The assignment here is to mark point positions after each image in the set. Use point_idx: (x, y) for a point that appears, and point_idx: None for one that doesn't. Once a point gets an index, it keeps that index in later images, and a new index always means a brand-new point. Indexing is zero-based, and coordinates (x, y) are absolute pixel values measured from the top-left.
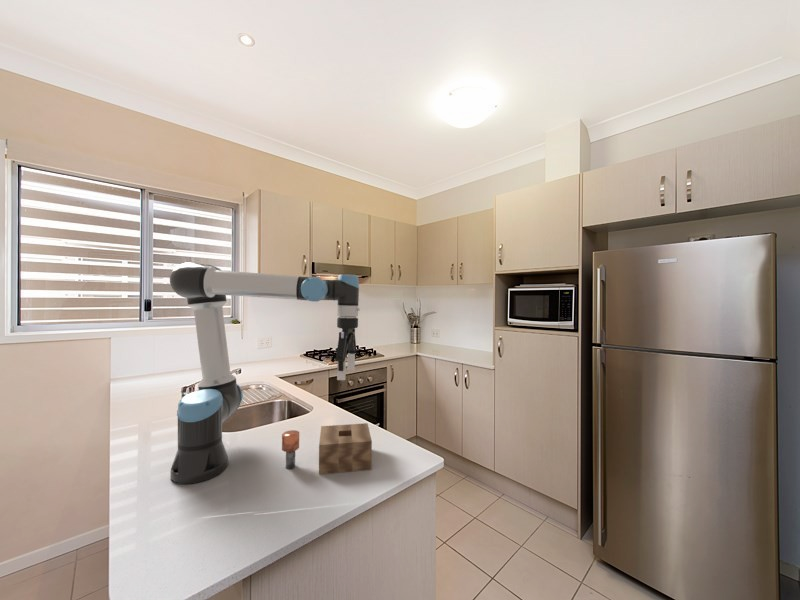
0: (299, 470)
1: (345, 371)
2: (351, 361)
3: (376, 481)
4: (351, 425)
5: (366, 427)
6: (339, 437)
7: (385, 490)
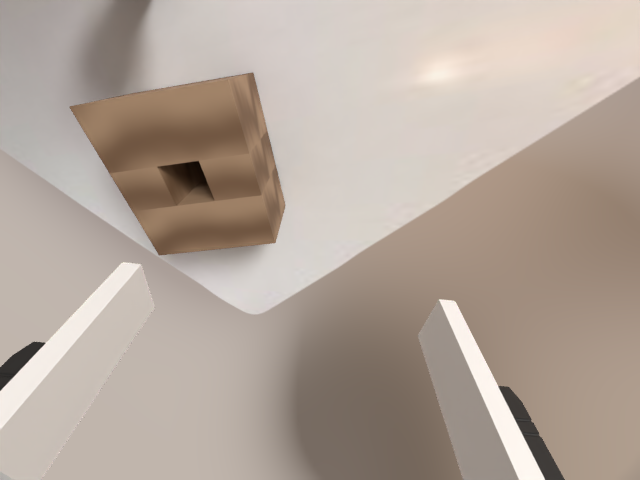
0: (135, 18)
1: (112, 366)
2: (454, 402)
3: None
4: (252, 198)
5: (243, 241)
6: (151, 169)
7: (132, 239)
